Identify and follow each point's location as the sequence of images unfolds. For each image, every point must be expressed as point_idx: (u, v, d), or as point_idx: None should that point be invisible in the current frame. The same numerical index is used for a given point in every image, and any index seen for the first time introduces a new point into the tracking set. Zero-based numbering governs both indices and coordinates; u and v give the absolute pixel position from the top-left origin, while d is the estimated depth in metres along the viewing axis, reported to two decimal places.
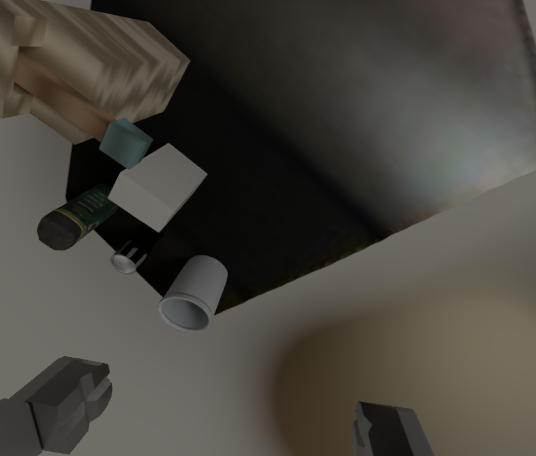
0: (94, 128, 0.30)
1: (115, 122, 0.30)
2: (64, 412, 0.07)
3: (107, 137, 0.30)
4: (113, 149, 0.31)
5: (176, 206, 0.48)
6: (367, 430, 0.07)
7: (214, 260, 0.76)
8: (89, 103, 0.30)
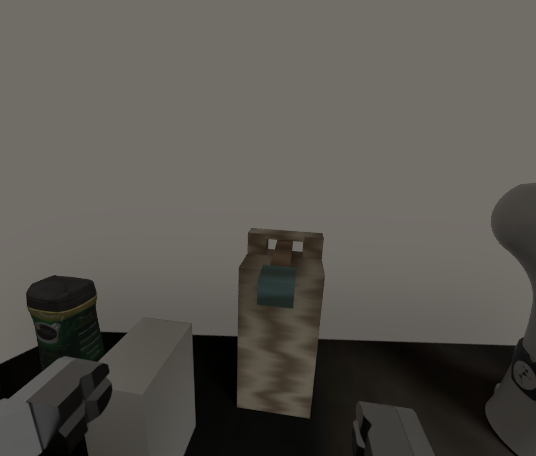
0: (279, 263, 0.32)
1: None
2: (64, 412, 0.07)
3: (281, 267, 0.30)
4: (271, 270, 0.29)
5: (145, 403, 0.24)
6: (367, 430, 0.07)
7: None
8: None
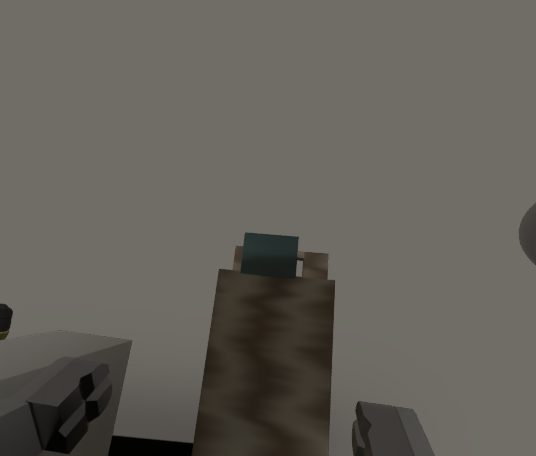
0: None
1: None
2: (64, 412, 0.07)
3: None
4: None
5: None
6: (367, 430, 0.07)
7: None
8: None
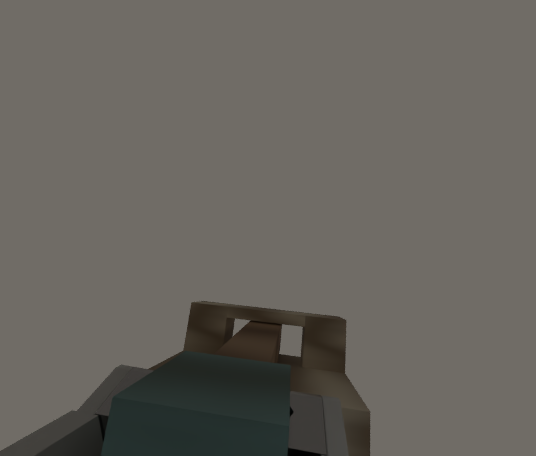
0: (241, 356, 0.11)
1: None
2: None
3: (240, 361, 0.09)
4: (204, 367, 0.08)
5: None
6: None
7: None
8: None
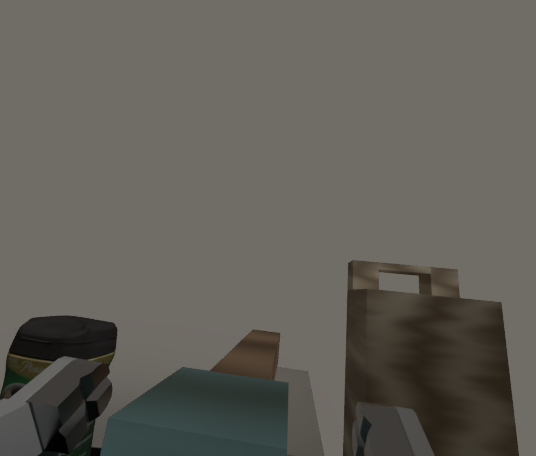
0: (239, 372, 0.11)
1: None
2: (64, 412, 0.07)
3: (238, 378, 0.09)
4: (201, 385, 0.08)
5: None
6: (367, 430, 0.07)
7: None
8: None
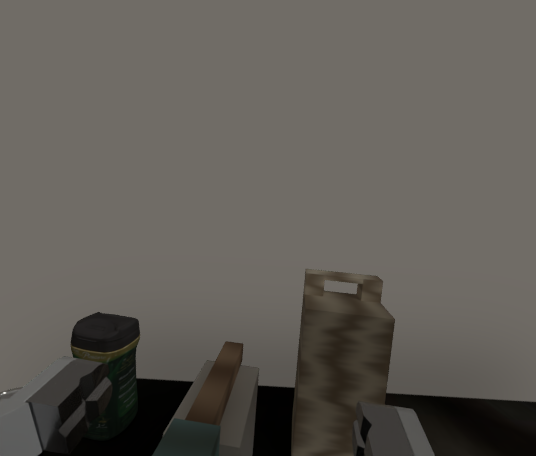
0: (202, 412, 0.22)
1: (219, 438, 0.21)
2: (64, 412, 0.07)
3: (197, 426, 0.20)
4: (180, 436, 0.19)
5: None
6: (367, 430, 0.07)
7: None
8: (222, 413, 0.24)
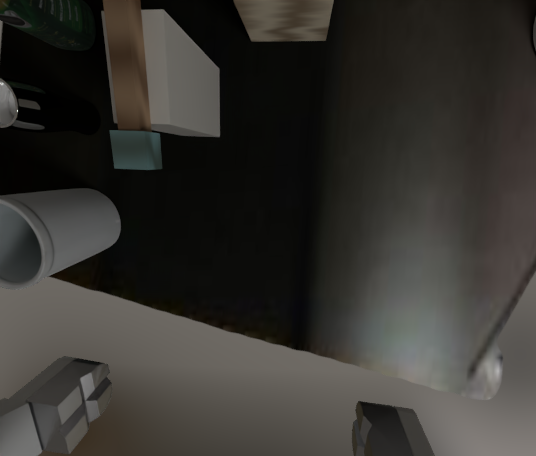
0: (126, 117, 0.27)
1: (149, 133, 0.28)
2: (64, 412, 0.07)
3: (129, 134, 0.27)
4: (122, 144, 0.27)
5: (175, 123, 0.30)
6: (367, 430, 0.07)
7: (117, 217, 0.52)
8: (145, 98, 0.28)
